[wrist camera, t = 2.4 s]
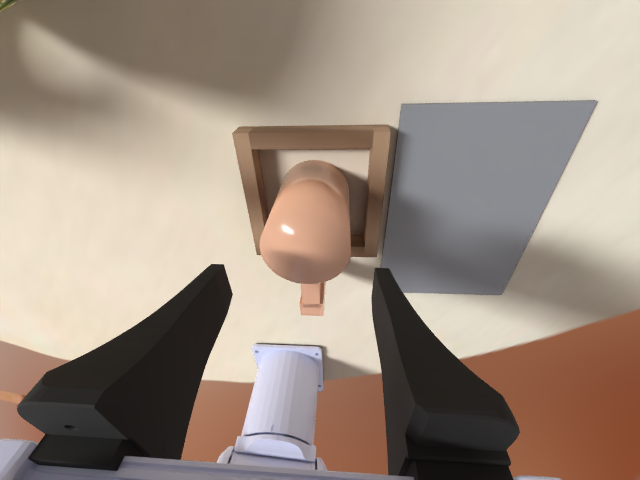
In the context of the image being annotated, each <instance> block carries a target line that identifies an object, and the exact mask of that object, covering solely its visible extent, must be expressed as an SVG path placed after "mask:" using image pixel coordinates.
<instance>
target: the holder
mask: <svg viewBox="0 0 640 480" xmlns="http://www.w3.org/2000/svg"><path fill="white" fill-rule="evenodd" d="M232 134H233V139H234V144H235V149H236V154H237V159H238V164H239V169H240V174H241V179H242V183H243V188H244V193H245V198H246V203H247V208H248V213H249V218H250V223H251V227H252V232H253V237H254V242H255V247H256V252H257V255H261V252H260V238H261V235H262V232H263V230H264V227H265V225H266V222H267V220H268V217H269V216H268V210H267V203H266V197H265V191H264V184H263V178H262V172H261V165H260V159H259V153H258V149H370V156H369V169H368V183H367V197H366V210H365V224H364V236H350V239H351V256H350V257H377V251H378V242H379V233H380V224H381V215H382V206H383V197H384V188H385V179H386V170H387V162H388V153H389V144H390V135H391V131H390V129H389V126H388V125H335V126H261V127H239V128H238V129H236V130H235V131H234V132H233V133H232Z"/></svg>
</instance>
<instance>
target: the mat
mask: <svg viewBox="0 0 640 480" xmlns="http://www.w3.org/2000/svg"><path fill="white" fill-rule="evenodd" d="M596 103H597V101H596V100H587V101H533V102H479V103H425V104H402V105H401V113H400V120H399V128H398V136H397V144H396V152H395V160H394V168H393V176H392V184H391V192H390V199H389V207H388V215H387V223H386V231H385V239H384V247H383V255H382V263H381V268H389V269H390V270H391V272H392V274H393V276H394V278H395V280H396V282H397V284H398V285H399V287H400V289H401V291H402V292H404V293H440V294H476V295H502V294H503V292H504V290H505V287H506V285H507V283H508V281H509V279H510V277H511V275H512V273H513V271H514V269H515V267H516V265H517V263H518V261H519V259H520V257H521V255H522V253H523V251H524V249H525V247H526V245H527V243H528V241H529V239H530V237H531V235H532V233H533V231H534V229H535V227H536V225H537V223H538V221H539V219H540V217H541V215H542V213H543V210H544V208H545V206H546V204H547V202H548V200H549V198H550V196H551V194H552V192H553V190H554V188H555V186H556V184H557V182H558V180H559V178H560V176H561V174H562V172H563V170H564V168H565V166H566V164H567V162H568V160H569V158H570V156H571V154H572V152H573V150H574V148H575V146H576V144H577V142H578V140H579V138H580V136H581V133H582V131H583V129H584V127H585V125H586V123H587V121H588V119H589V117H590V115H591V113H592V111H593V109H594V107H595V105H596Z"/></svg>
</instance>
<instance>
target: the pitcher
mask: <svg viewBox="0 0 640 480" xmlns="http://www.w3.org/2000/svg"><path fill="white" fill-rule="evenodd" d="M18 1H19V0H0V11H2V10H4V9H6V8H8V7H10V6H12V5H13V4H15V3H16V2H18Z"/></svg>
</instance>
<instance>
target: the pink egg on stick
mask: <svg viewBox="0 0 640 480" xmlns="http://www.w3.org/2000/svg"><path fill="white" fill-rule="evenodd" d="M260 252H261V255H262V257H263V260H264V261H265V263H266V264H267V266H268V267H269V268H270V269H271V270H272V271H273V272H275V273H276V274H277V275H279V276H281V277H282V278H284V279H287V280H289V281H292V282H296V283H301V291H302V293H301V299H300V310H301V315H314V316H323V314H324V300H325V286H326V281H328V280H330V279H333V278H334V277H336V276H337V275H339V274H340V273H341V272H342V271H343V270H344V269H345V267H346V266H347V264H348V262H349V259H350V256H351V239H350V209H349V188H348V183H347V181H346V179H345V177H344V175H343V174H342V173H341V172H340V171H339V170H338V169H337V168H336V167H334V166H333V165H331V164H329V163H326V162H323V161H318V160H311V161H305V162H302V163H299V164H297V165H296V166H294V167H293V168H292V169H290V170H289V172H288V173H287V174H286V176H285V178H284V180H283V183H282V185H281V188H280V190H279V193H278V195H277V198H276V200H275V203H274V205H273V207H272V210H271V212H270V215H269V217H268V220H267V222H266V225H265V227H264V230H263V232H262V235H261V238H260Z"/></svg>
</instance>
